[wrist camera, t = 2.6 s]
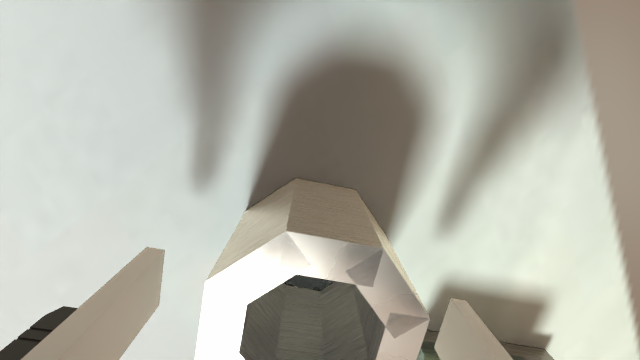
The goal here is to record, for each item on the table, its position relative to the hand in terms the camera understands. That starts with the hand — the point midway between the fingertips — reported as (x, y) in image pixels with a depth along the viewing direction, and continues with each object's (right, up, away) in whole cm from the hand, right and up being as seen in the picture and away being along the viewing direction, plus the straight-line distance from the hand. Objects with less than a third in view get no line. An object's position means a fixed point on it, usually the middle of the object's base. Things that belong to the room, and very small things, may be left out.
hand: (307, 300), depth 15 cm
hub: (0, +1, +4) cm, 4 cm away
